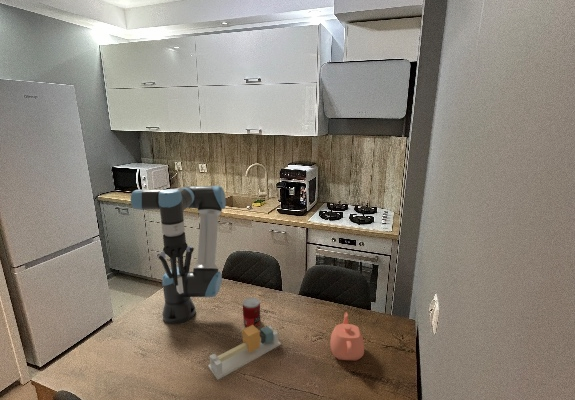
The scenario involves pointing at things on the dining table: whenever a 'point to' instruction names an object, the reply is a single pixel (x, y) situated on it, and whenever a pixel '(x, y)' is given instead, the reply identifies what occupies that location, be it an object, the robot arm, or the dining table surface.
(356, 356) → the teapot
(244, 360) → the linear slide rail
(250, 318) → the canned food
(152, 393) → the dining table surface
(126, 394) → the dining table surface
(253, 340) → the orange slider block
